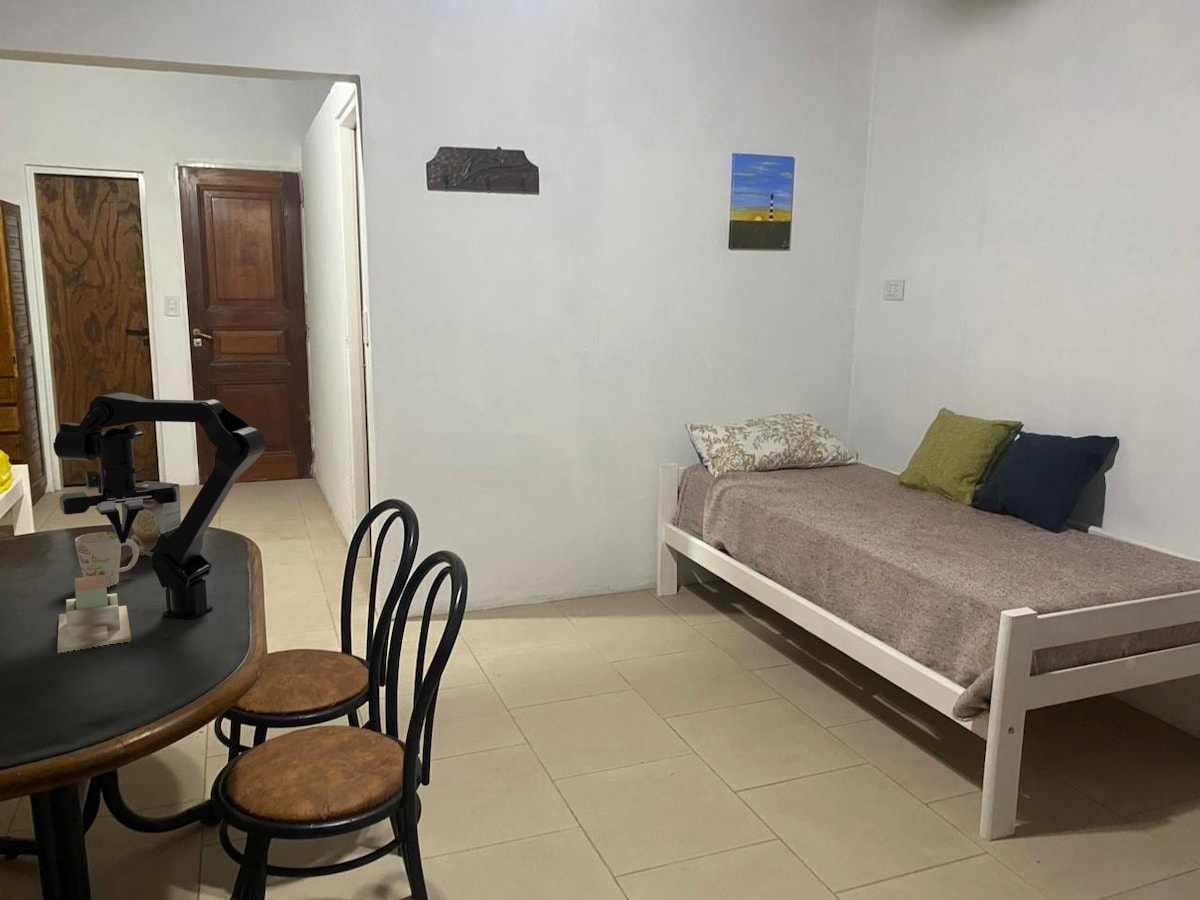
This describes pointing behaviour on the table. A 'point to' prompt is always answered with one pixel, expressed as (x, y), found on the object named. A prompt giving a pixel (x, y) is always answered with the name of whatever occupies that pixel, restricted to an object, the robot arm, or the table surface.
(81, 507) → the robot arm
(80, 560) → the mug
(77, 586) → the block
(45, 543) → the table surface
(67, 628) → the card holder
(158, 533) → the coffee box
